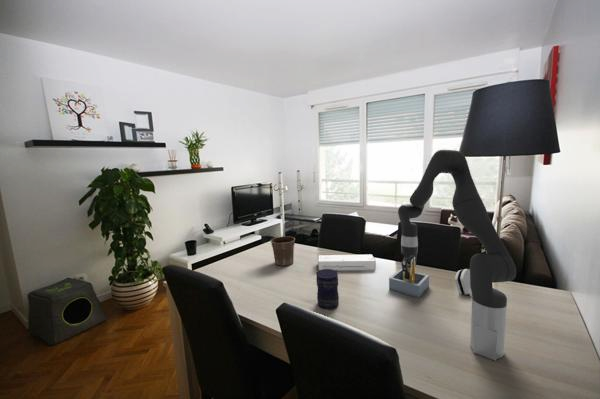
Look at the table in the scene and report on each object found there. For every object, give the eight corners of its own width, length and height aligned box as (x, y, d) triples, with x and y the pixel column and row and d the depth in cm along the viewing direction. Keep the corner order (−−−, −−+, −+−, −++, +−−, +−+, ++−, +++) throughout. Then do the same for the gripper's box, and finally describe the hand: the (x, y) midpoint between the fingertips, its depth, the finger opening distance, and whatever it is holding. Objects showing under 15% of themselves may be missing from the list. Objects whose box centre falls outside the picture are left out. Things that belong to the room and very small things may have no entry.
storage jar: (314, 301, 125) (312, 271, 123) (332, 296, 128) (331, 267, 126) (323, 312, 116) (321, 279, 114) (343, 306, 119) (342, 275, 117)
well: (418, 298, 123) (419, 285, 122) (389, 289, 133) (389, 278, 132) (428, 286, 134) (429, 275, 133) (400, 279, 143) (400, 268, 143)
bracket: (411, 285, 130) (411, 265, 128) (403, 283, 132) (403, 263, 131) (415, 281, 133) (415, 262, 132) (407, 279, 136) (407, 260, 135)
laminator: (318, 271, 161) (318, 261, 160) (318, 263, 173) (318, 254, 172) (375, 270, 157) (375, 260, 157) (371, 262, 170) (371, 253, 169)
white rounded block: (471, 297, 122) (463, 276, 123) (460, 297, 125) (452, 277, 126) (478, 284, 133) (471, 265, 135) (468, 284, 137) (461, 266, 138)
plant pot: (269, 260, 181) (268, 237, 179) (292, 257, 186) (291, 234, 184) (274, 269, 166) (273, 244, 164) (299, 265, 171) (298, 241, 168)
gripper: (411, 249, 122) (411, 284, 125) (422, 241, 133) (421, 274, 135) (395, 246, 128) (395, 280, 130) (407, 239, 138) (407, 270, 140)
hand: (409, 276), depth 132 cm, fingers closed on bracket, 5 cm apart
